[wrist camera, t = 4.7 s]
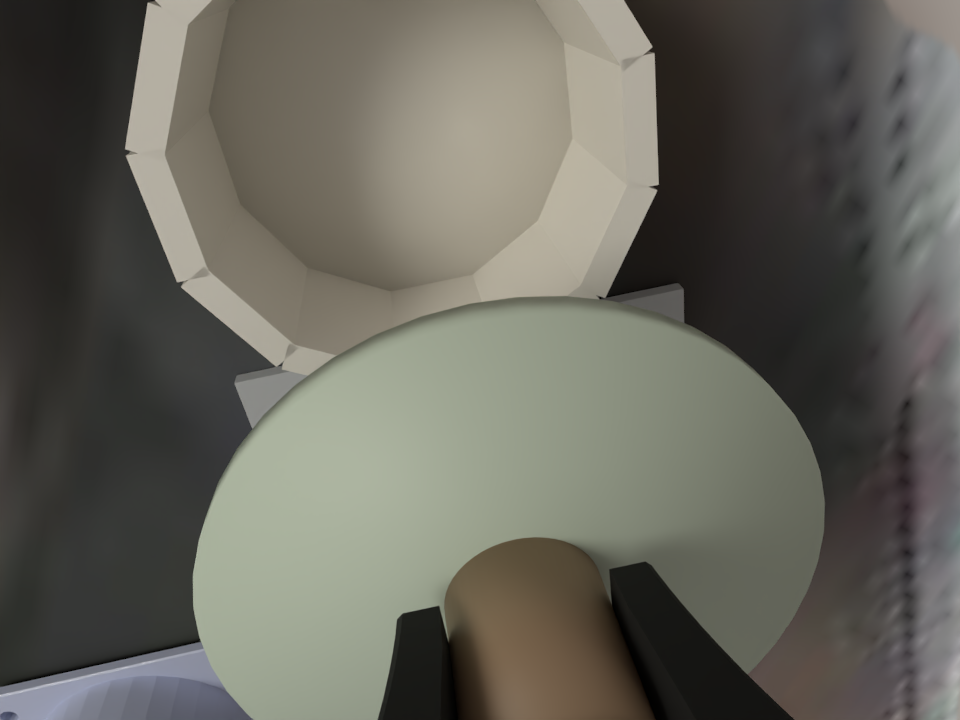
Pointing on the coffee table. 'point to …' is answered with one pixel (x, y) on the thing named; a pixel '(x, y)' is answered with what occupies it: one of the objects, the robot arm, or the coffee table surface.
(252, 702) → the lid
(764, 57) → the coffee table surface
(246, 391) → the mat
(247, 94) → the bowl
